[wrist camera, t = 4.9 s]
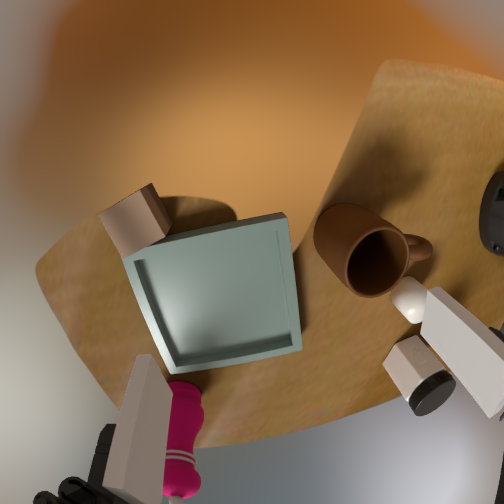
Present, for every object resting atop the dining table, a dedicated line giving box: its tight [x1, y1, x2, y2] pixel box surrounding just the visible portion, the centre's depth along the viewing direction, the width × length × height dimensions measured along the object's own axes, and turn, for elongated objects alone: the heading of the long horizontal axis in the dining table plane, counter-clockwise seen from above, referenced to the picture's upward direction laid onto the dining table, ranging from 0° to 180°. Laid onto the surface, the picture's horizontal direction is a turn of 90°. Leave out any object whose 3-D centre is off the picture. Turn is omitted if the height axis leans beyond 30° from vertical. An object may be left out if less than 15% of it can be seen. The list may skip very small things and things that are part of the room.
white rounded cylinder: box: [390, 276, 428, 324], centre depth 35 cm, size 5×5×5 cm
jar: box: [382, 335, 456, 416], centre depth 38 cm, size 9×8×12 cm
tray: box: [121, 212, 302, 374], centre depth 33 cm, size 18×18×2 cm
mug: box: [313, 203, 433, 298], centre depth 29 cm, size 12×8×9 cm, turn 94°
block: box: [98, 183, 173, 259], centre depth 27 cm, size 5×5×5 cm
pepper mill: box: [162, 381, 204, 504], centre depth 31 cm, size 7×7×20 cm
